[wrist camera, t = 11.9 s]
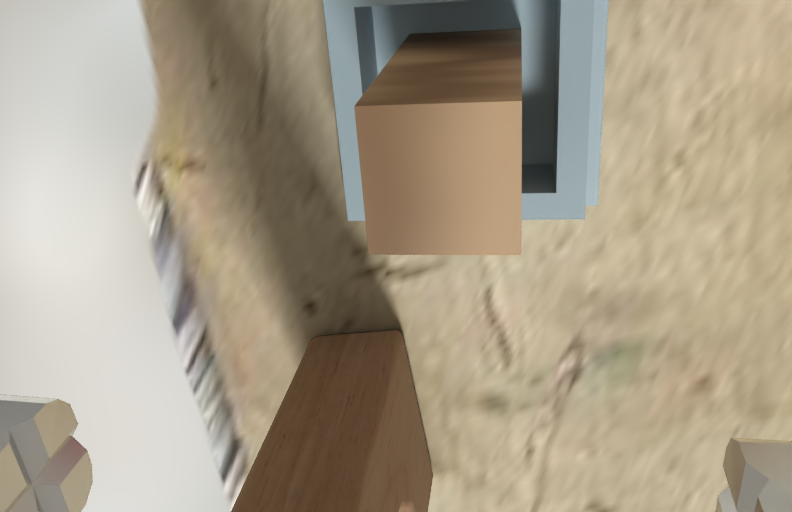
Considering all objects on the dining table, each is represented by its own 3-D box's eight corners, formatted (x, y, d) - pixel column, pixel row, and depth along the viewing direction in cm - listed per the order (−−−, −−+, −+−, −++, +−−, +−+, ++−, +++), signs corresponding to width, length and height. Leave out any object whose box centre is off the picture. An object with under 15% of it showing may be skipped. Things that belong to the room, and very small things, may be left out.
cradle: (609, -78, 25) (623, -72, 21) (595, 196, 29) (605, 238, 26) (324, -57, 26) (294, -48, 23) (352, 199, 31) (330, 239, 27)
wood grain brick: (521, 28, 26) (522, 100, 17) (520, 137, 27) (521, 255, 19) (409, 33, 26) (354, 106, 18) (416, 139, 28) (368, 254, 19)
